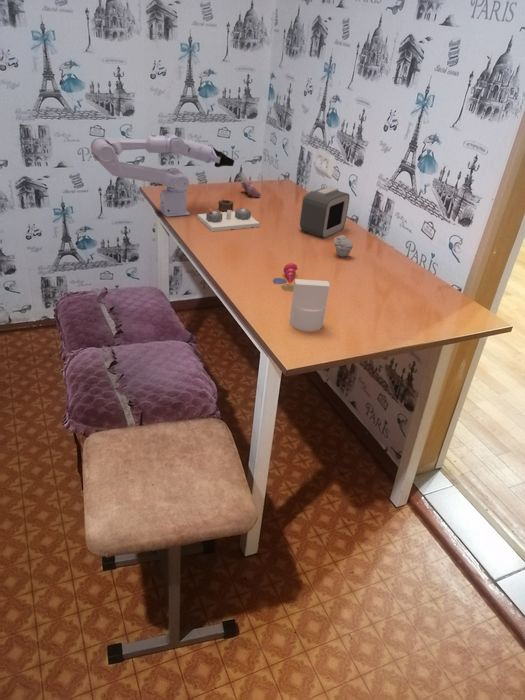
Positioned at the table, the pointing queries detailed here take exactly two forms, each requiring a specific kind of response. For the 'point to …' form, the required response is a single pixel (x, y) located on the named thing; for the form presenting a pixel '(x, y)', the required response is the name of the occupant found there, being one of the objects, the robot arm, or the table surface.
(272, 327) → the table surface
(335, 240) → the grey muffin
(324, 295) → the cylinder with rectangular tab
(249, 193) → the pink irregular piece
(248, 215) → the gear board
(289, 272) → the toy pieces
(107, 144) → the robot arm
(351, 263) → the table surface
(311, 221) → the alarm clock
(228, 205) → the walnut gear
